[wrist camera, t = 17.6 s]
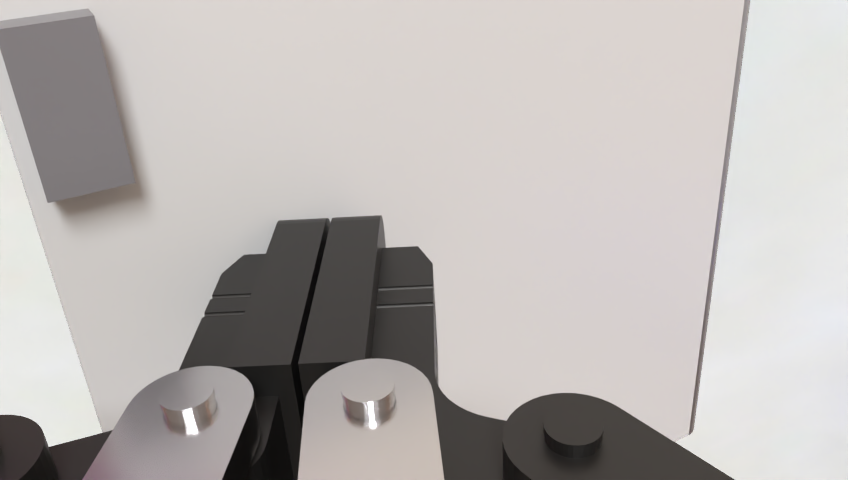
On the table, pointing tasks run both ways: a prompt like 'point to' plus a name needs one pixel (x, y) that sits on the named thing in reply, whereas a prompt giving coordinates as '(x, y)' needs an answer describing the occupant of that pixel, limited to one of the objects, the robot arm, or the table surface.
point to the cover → (390, 174)
